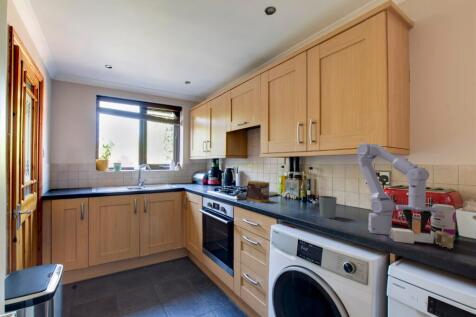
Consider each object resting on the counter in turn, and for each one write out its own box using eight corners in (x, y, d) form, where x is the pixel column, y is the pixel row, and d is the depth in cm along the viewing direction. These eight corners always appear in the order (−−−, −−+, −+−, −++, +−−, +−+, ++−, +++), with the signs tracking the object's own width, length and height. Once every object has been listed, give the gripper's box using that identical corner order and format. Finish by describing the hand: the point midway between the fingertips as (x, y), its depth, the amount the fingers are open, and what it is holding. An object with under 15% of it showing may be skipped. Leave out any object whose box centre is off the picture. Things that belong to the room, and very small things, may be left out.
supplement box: (260, 202, 184) (261, 182, 184) (246, 199, 195) (247, 181, 195) (269, 201, 191) (269, 182, 191) (255, 198, 202) (255, 180, 202)
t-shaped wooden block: (391, 238, 101) (391, 219, 101) (389, 236, 104) (389, 217, 104) (433, 243, 96) (433, 223, 97) (430, 241, 99) (430, 221, 99)
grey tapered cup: (337, 219, 136) (338, 198, 136) (319, 218, 138) (320, 197, 138) (334, 215, 146) (334, 196, 146) (317, 214, 148) (317, 195, 148)
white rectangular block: (394, 241, 100) (394, 230, 100) (391, 238, 105) (391, 227, 105) (413, 243, 98) (414, 232, 98) (409, 240, 102) (410, 229, 102)
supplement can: (454, 239, 106) (455, 205, 106) (455, 243, 99) (455, 208, 100) (431, 234, 111) (431, 203, 111) (430, 238, 105) (430, 205, 105)
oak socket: (442, 247, 94) (442, 235, 94) (435, 242, 100) (435, 230, 100) (452, 248, 93) (453, 236, 93) (445, 243, 99) (445, 231, 99)
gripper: (400, 196, 98) (399, 228, 98) (442, 198, 94) (441, 233, 94) (394, 194, 105) (394, 224, 105) (434, 196, 100) (433, 228, 100)
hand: (416, 228), depth 100 cm, fingers open, 4 cm apart
